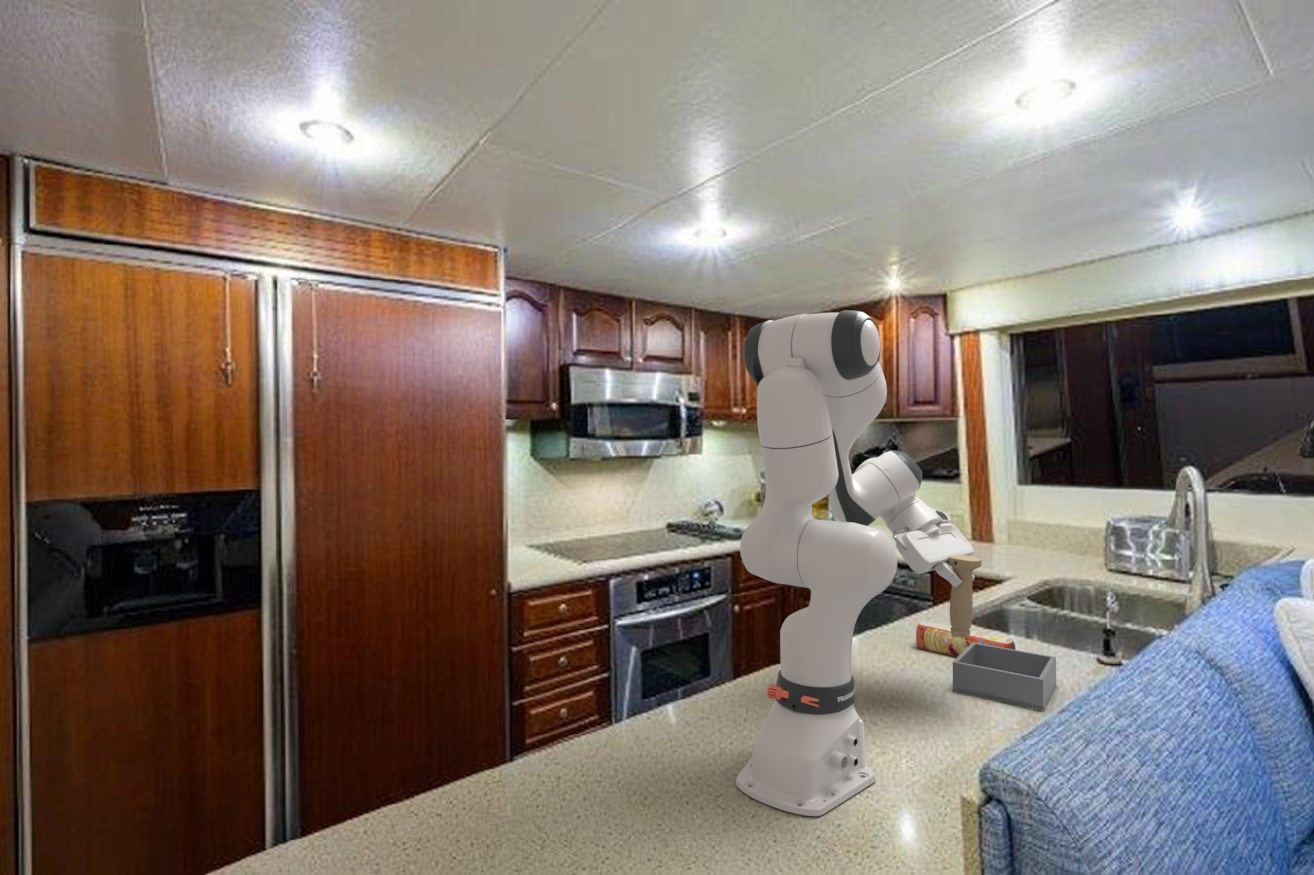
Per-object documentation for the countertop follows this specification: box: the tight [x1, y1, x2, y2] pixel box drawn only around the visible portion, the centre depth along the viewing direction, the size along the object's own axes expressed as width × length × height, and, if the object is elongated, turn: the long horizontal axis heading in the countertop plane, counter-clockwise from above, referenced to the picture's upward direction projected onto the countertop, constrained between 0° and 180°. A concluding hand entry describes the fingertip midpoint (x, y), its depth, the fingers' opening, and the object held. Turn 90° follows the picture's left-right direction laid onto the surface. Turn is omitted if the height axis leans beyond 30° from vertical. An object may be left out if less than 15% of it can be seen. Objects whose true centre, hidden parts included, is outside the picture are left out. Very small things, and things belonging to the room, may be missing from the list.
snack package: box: [915, 619, 1017, 658], centre depth 153 cm, size 21×7×7 cm, turn 44°
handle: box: [945, 555, 983, 638], centre depth 123 cm, size 5×6×15 cm
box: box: [952, 642, 1057, 711], centre depth 133 cm, size 16×16×6 cm
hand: (965, 582), depth 123 cm, fingers closed on handle, 3 cm apart
